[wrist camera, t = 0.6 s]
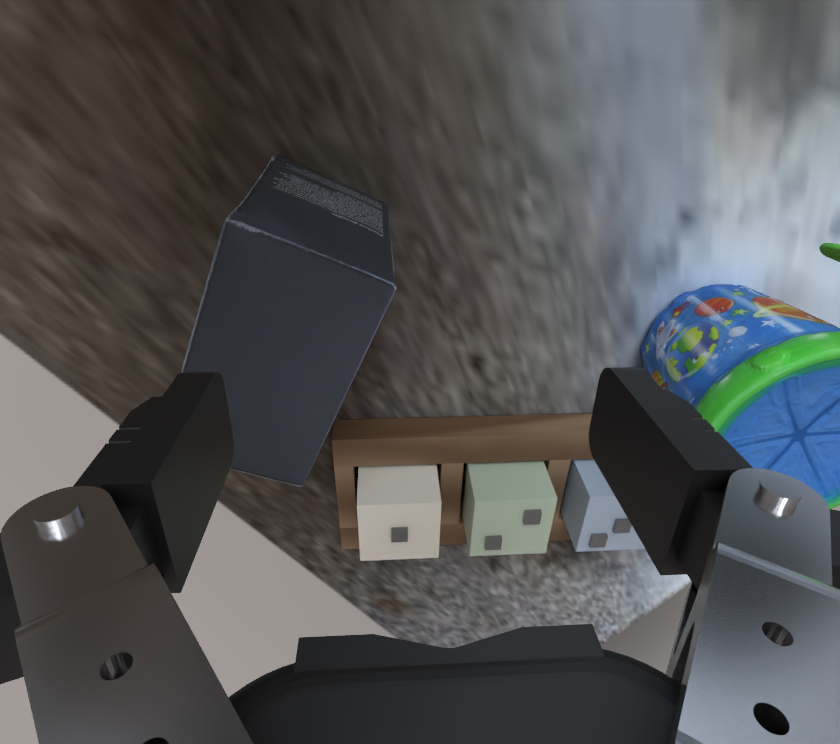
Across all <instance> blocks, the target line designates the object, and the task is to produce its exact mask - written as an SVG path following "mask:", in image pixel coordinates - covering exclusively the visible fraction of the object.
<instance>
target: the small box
mask: <svg viewBox="0 0 840 744" xmlns="http://www.w3.org/2000/svg"><path fill="white" fill-rule="evenodd" d="M395 292H396V282H395V272H394V263H393V253H392V243H391V231H390V218H389V208H388V205H387V204H385V203H383V202H381V201H379V200H377V199H375V198H372V197H370V196H368V195H366V194H364V193H362V192H360V191H357V190H355V189H353V188H350V187H349V186H346V185H344V184H342V183H340V182H338V181H335V180H333V179H331V178H329V177H326V176H324V175H322V174H320V173H317V172H315V171H313V170H310V169H308V168H306V167H304V166H302V165H300V164H298V163H295V162H293V161H291V160H289V159H286V158H284V157H282V156H279V155H274V156H272V157H271V158H270V160H269V162H268V164H267V166H266V168H265V169H264V171H263V172H262V174H261V175H260V176H259V178H258V180H257V181H256V182H255V184H254V185H253V187H252V188H251V189H250V190H249V193H248V194H247V195H246V197H244V198H243V200H242V202H241V203H240V204H239V205H238V206H237V207H236V208H235V209H234V210H233V211H232V212H231V213H229V215H228V216H227V217H226V218H225V219H224V221H223V225H222V229H221V232H220V235H219V239H218V242H217V246H216V249H215V253H214V256H213V260H212V263H211V266H210V270H209V274H208V277H207V281H206V285H205V289H204V292H203V295H202V299H201V302H200V306H199V309H198V313H197V317H196V320H195V324H194V327H193V330H192V334H191V337H190V341H189V345H188V348H187V352H186V356H185V359H184V363H183V367H182V371H181V373H188V372H219V373H220V374H221V376H222V378H223V381H224V386H225V392H226V397H227V403H228V409H229V415H230V421H231V426H232V432H233V440H234V451H233V459H232V464H231V467H230V469H232V470H236V471H240V472H243V473H248V474H252V475H256V476H259V477H263V478H267V479H271V480H275V481H279V482H283V483H287V484H291V485H295V486H299V487H301V486H303V485H304V484H305V482H306V480H307V478H308V476H309V473H310V471H311V470H312V467H313V465H314V463H315V461H316V459H317V457H318V454H319V452H320V450H321V448H322V446H323V444H324V442H325V439H326V437H327V435H328V433H329V431H330V429H331V427H332V424H333V422H334V420H335V418H336V416H337V414H338V412H339V409H340V407H341V405H342V403H343V401H344V399H345V397H346V395H347V392H348V390H349V388H350V386H351V384H352V382H353V380H354V378H355V376H356V373H357V371H358V369H359V367H360V365H361V363H362V361H363V359H364V357H365V355H366V352H367V350H368V348H369V346H370V344H371V342H372V340H373V338H374V336H375V334H376V332H377V329H378V327H379V325H380V323H381V321H382V319H383V317H384V315H385V313H386V311H387V309H388V307H389V304H390V302H391V300H392V298H393V296H394V294H395Z"/></svg>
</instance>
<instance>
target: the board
mask: <svg viewBox="0 0 840 744" xmlns="http://www.w3.org/2000/svg"><path fill="white" fill-rule="evenodd" d="M591 418H592V413H576V414H538V415H499V416H461V417H423V418H385V419H346V420H334V423H333V432H332V451H333V461H334V472H335V483H336V493H337V504H338V515H339V525H340V536H341V547H342V549H359V534H358V519H357V477H356V466H387V465H419V464H438V479H439V487H440V494H441V502H442V503H441V522H440V540H439V545H460V544H467V539H466V533H465V528H464V522H463V516H462V513H463V502H461V489H462V477H463V465H464V463H482V462H513V461H544V464H545V466H546V469H547V471H548V474H549V477H550V479H551V482H552V485H553V487H554V490H555V493H556V495H557V498H558V499H557V503H556V508H555V513H554V517H553V522H552V526H551V531H550V535H549V540H548V541H556V540H571V538H570V535H569V532H568V530H567V527H566V524H565V522H564V519H563V516H562V514H561V507H562V502H563V494H564V489H565V485H566V480H567V476H568V472H569V467H570V463H571V460H576V459H593V457H592V454H591V451H590V446H589V428H590V423H591Z"/></svg>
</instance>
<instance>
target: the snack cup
mask: <svg viewBox="0 0 840 744" xmlns="http://www.w3.org/2000/svg"><path fill="white" fill-rule="evenodd" d="M820 251H821V253H822V254H823V255H825V256H827V257H829V258H831V259H834V260H836V261H838V262H840V245H839V244H833V243H824V244H822V245H821V246H820ZM640 350H641V354H642V358H643V368H644V370H645V371H646V372H647V373H648V374H649V375H650V376H651V377H652V378H653V379H654V380H655V381H656V382H657V383H658V385H659V386H660V387H661V388H662V389H667V390H669V391H670V392H672V393H674V394H676V395H677V396H679V397H681V398H683V399H684V400H686V401H688V402H689V403H690V404H691V405H692V406H693V407H694V408H695V409H696V410H697V411H698V412H699V413H700V414H701V415H702V416H703V419H706V420H707V421H708V422H709V423H710V424H711V425H712V426H713V427H714V428H715V432H719V433H720V434H721V435H722V436H723V437H724V439H725V440H726V441H727V442H728V443H729V444H730V445H731V446H732V447H733V448H734V449H735V450H736V451H737V452H738V453H739V454H740V455H741V456H742V457H743V458H744V459H745V460H746V461H747V462H748V463H749V464H750V465H751V466H752V467H753V468H760V469H767V470H772V471H776V472H779V473H782V474H785V475H788V476H790V477H793V478H795V479H797V480H799V481H801V482H803V483H804V484H806V485H808V486H809V487H811V488H812V489H813V490H815V491H816V492H817V493H818V494H819V495H820V496H821V497H822V498H823V499H824V500H825V501H826V503H827V505H828V507H829V509H832V508H834V507H836V506H838V505H840V328H838V327H836V326H834V325H832V324H830V323H828V322H825V321H823V320H821V319H818V318H816V317H814V316H812V315H810V314H808V313H805V312H803V311H801V310H799V309H797V308H794V307H792V306H790V305H788V304H786V303H783V302H781V301H779V300H776V299H773V298H770V297H769V296H766V295H763V294H762V293H759V292H757V291H755V290H753V289H750V288H747V287H745V286H741V285H737V286H735V285H710V286H706V287H702V288H700V289H698V290H695V291H693V292H684V293H683V294H681V295H680V296H678V297H677V298H675V299H674V300H673V303H672V304H671V305H670V306H669V307H668V308H667V309H665V310H663V311H662V312H661V313H660V314H659V315H658V316H657V318H656V319H655V321H654V323H653V324H652V326H651V328H650V330H649V333H648V336H647V338H646V339H645V341H644V342H643V345H642V346H641V349H640Z"/></svg>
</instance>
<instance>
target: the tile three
mask: <svg viewBox="0 0 840 744" xmlns="http://www.w3.org/2000/svg"><path fill="white" fill-rule="evenodd" d="M561 514H562V516H563V519H564V522H565V524H566V527H567V530H568V532H569V535H570V538H571V540H572V543H573V546H574V548H575V551H576V552H582V551H605V550H628V549H645V547H644V545H643V544H642V542H641V540H640V539H639V537H638V535H637V533H636V532H635V530H634V528H633V526H632V525H631V523H630V521H629V519H628V518H627V516H626V514H625V513H624V511H623V509H622V507H621V506H620V504H619V502H618V500H617V499H616V497H615V495H614V493H613V492H612V490H611V488H610V487H609V485H608V483H607V481H606V480H605V478H604V476H603V474H602V473H601V471H600V469H599V467H598V466H597V464H596V462H595V461H594V459H576V460H572V463H571V467H570V471H569V476H568V480H567V485H566V489H565V493H564V498H563V502H562V507H561Z"/></svg>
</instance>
